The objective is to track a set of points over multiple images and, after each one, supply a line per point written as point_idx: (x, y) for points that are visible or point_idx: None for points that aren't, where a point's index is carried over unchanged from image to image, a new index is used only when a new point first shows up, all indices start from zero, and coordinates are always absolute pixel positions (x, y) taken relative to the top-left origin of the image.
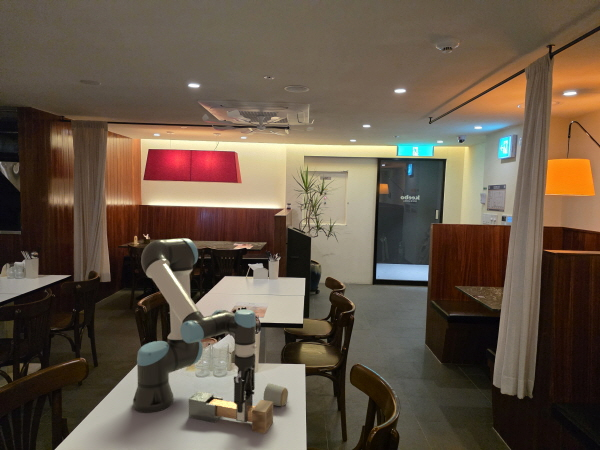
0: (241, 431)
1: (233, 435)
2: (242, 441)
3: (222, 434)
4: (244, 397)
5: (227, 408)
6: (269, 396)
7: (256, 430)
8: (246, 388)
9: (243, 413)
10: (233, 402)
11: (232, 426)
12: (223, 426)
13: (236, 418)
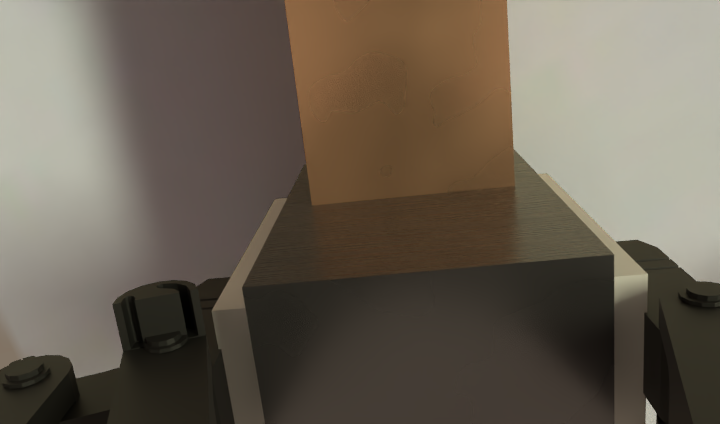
0: None
1: (127, 225)
2: (86, 364)
3: (76, 96)
4: (389, 416)
5: (286, 5)
6: None
7: None
8: (678, 415)
9: None
10: (501, 7)
11: (280, 111)
12: (227, 2)
13: (301, 173)
